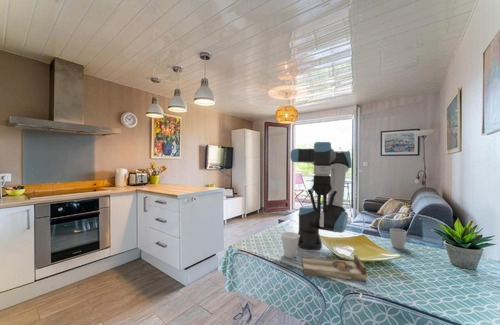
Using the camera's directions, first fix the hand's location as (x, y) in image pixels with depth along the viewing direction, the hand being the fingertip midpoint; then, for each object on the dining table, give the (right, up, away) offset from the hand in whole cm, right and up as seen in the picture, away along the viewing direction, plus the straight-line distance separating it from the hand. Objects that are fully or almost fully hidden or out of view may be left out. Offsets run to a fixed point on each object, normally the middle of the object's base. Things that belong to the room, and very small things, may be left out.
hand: (321, 226), depth 95 cm
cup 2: (+55, -21, +27) cm, 65 cm away
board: (+4, -20, -1) cm, 20 cm away
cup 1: (-12, -20, +14) cm, 27 cm away
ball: (+8, -18, -2) cm, 20 cm away
